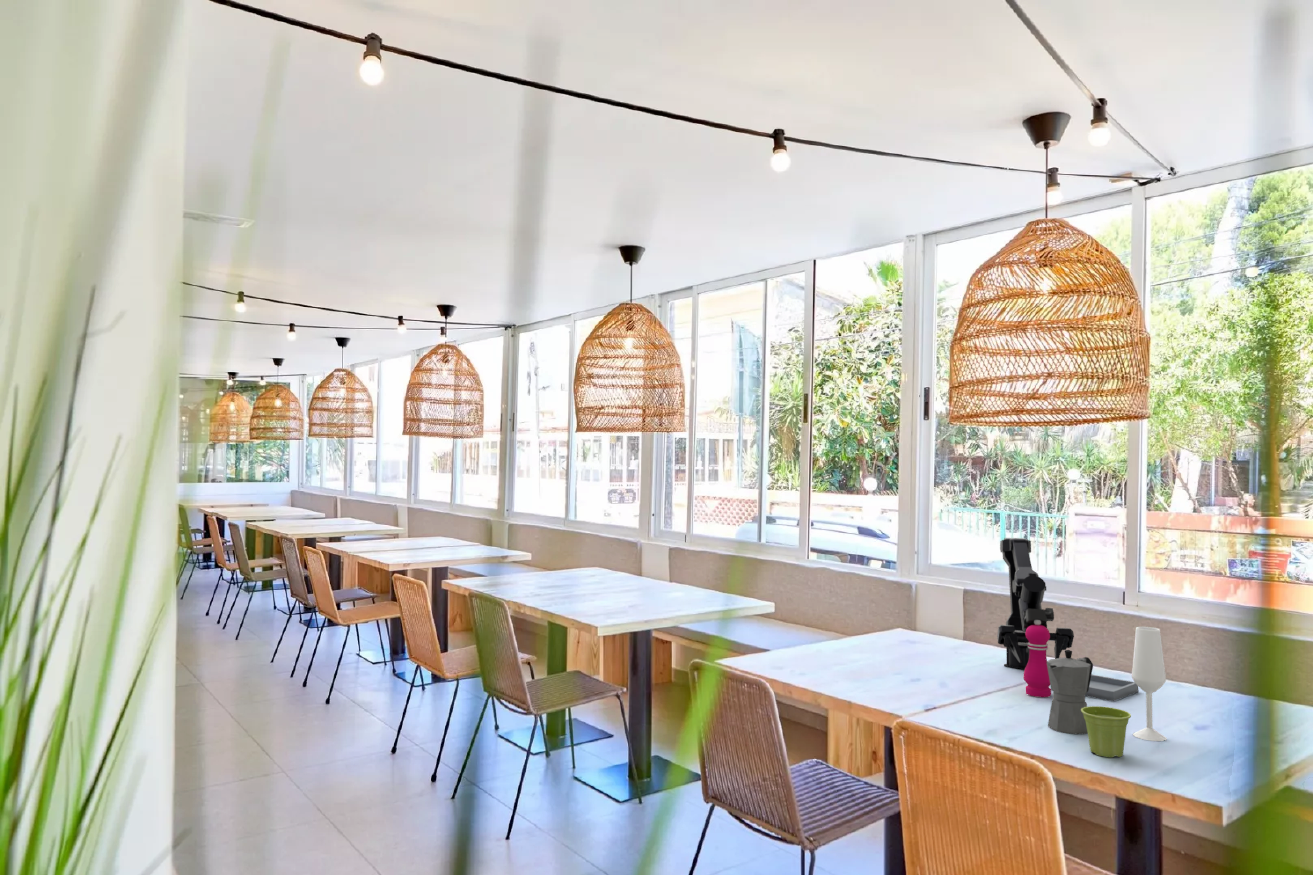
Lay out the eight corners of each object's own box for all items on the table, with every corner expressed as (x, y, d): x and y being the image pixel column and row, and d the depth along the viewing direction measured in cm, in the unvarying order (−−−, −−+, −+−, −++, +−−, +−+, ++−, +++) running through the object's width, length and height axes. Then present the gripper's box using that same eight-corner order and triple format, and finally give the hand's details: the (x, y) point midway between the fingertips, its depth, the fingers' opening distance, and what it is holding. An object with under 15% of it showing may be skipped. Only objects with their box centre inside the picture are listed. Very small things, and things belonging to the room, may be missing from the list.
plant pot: (1078, 755, 182) (1077, 713, 183) (1084, 743, 190) (1084, 703, 191) (1129, 763, 177) (1128, 720, 178) (1133, 751, 185) (1133, 710, 185)
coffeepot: (1071, 738, 194) (1069, 656, 195) (1033, 727, 202) (1032, 649, 203) (1111, 728, 202) (1110, 649, 203) (1073, 718, 210) (1072, 642, 211)
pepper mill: (1017, 692, 234) (1016, 617, 235) (1037, 689, 238) (1036, 615, 238) (1039, 698, 228) (1038, 621, 229) (1059, 696, 231) (1058, 619, 232)
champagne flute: (1150, 742, 192) (1148, 631, 193) (1125, 733, 198) (1123, 626, 199) (1174, 739, 194) (1172, 630, 194) (1149, 730, 200) (1147, 625, 201)
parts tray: (1053, 689, 238) (1053, 680, 238) (1079, 681, 248) (1079, 672, 248) (1113, 701, 226) (1113, 691, 226) (1138, 691, 236) (1138, 682, 236)
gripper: (998, 595, 240) (1003, 643, 229) (1072, 598, 235) (1081, 647, 224) (994, 619, 247) (1000, 667, 236) (1066, 622, 243) (1075, 671, 231)
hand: (1038, 662), depth 232 cm, fingers open, 9 cm apart
